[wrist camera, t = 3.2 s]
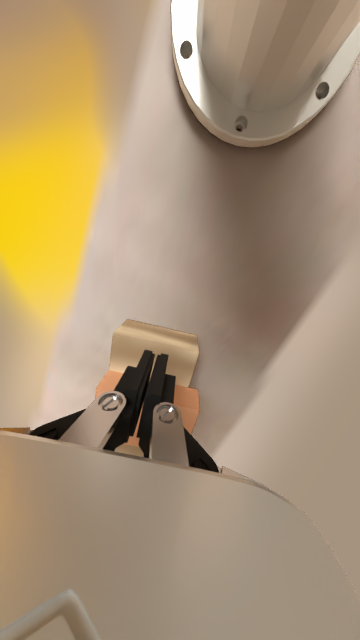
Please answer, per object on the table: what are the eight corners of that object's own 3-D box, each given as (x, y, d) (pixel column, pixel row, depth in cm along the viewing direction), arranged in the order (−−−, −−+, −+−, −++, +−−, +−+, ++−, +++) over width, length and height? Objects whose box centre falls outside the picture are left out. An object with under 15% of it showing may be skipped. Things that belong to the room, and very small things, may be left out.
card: (108, 370, 17) (96, 387, 15) (198, 389, 17) (199, 410, 15) (103, 415, 19) (91, 437, 17) (183, 432, 19) (183, 455, 17)
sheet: (127, 319, 20) (113, 333, 16) (196, 335, 20) (199, 353, 16) (112, 422, 25) (99, 451, 21) (167, 433, 25) (164, 464, 21)
